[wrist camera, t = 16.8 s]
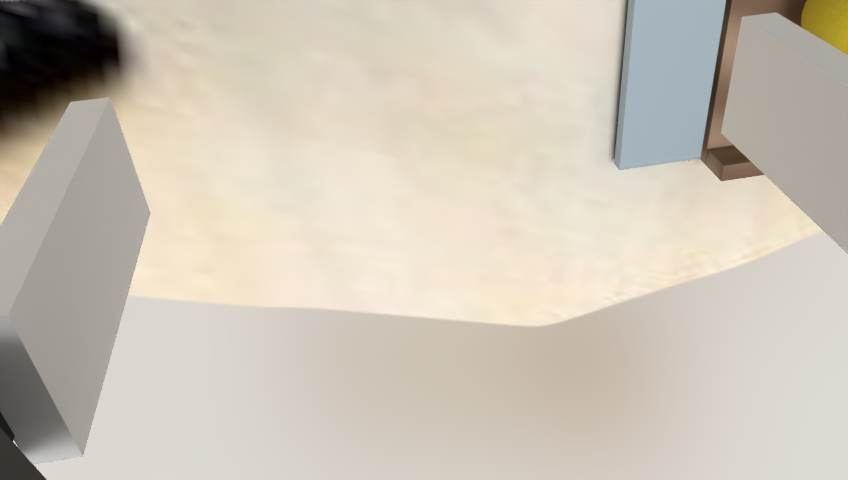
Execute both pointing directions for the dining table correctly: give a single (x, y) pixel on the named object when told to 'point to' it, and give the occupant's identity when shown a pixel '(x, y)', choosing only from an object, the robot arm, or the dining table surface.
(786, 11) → the brown wooden tray
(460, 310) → the dining table surface
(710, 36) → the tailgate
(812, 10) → the lemon
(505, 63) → the dining table surface
